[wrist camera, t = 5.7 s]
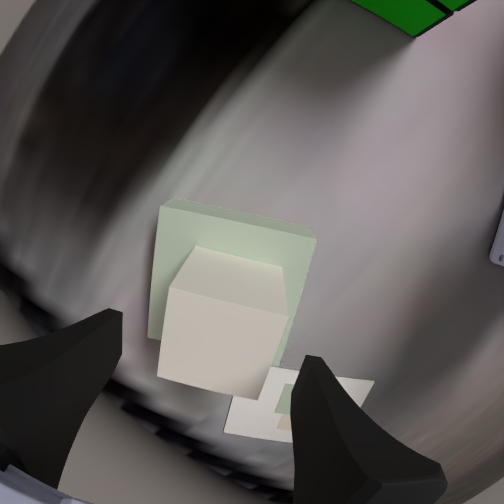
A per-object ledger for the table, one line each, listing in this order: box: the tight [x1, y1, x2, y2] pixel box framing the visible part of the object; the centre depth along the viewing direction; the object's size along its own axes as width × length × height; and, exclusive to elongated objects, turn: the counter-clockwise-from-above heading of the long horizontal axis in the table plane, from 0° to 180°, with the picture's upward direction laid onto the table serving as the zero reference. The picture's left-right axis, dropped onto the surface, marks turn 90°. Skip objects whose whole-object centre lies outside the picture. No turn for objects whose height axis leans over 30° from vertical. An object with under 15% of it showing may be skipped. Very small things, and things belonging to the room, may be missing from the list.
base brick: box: [148, 198, 317, 366], centre depth 19 cm, size 8×8×3 cm
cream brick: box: [157, 246, 289, 400], centre depth 15 cm, size 4×4×5 cm
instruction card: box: [224, 366, 375, 443], centre depth 23 cm, size 10×8×1 cm
